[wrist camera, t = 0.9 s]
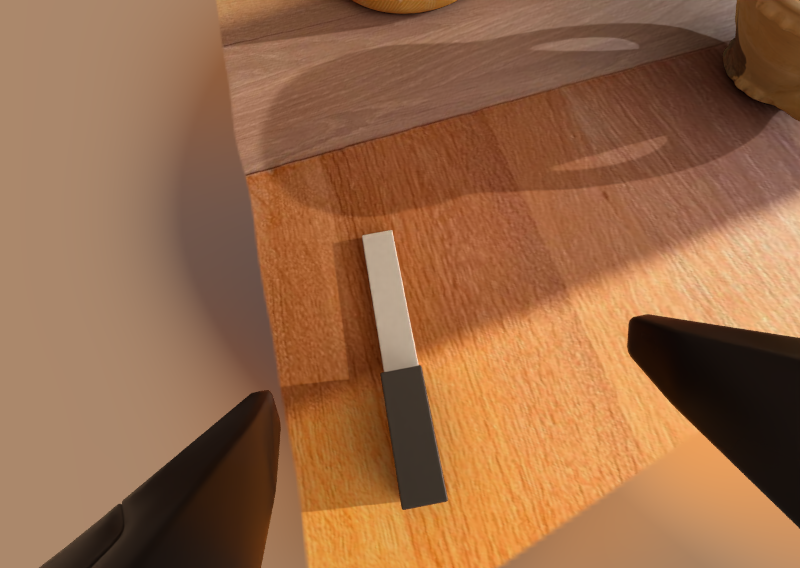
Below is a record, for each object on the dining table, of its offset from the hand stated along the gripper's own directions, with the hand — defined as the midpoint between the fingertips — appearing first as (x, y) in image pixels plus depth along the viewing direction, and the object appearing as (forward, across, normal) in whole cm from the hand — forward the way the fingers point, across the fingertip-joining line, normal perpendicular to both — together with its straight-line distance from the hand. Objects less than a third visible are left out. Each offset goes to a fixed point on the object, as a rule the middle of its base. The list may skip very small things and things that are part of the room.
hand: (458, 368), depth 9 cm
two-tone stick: (+14, +1, +7) cm, 15 cm away
